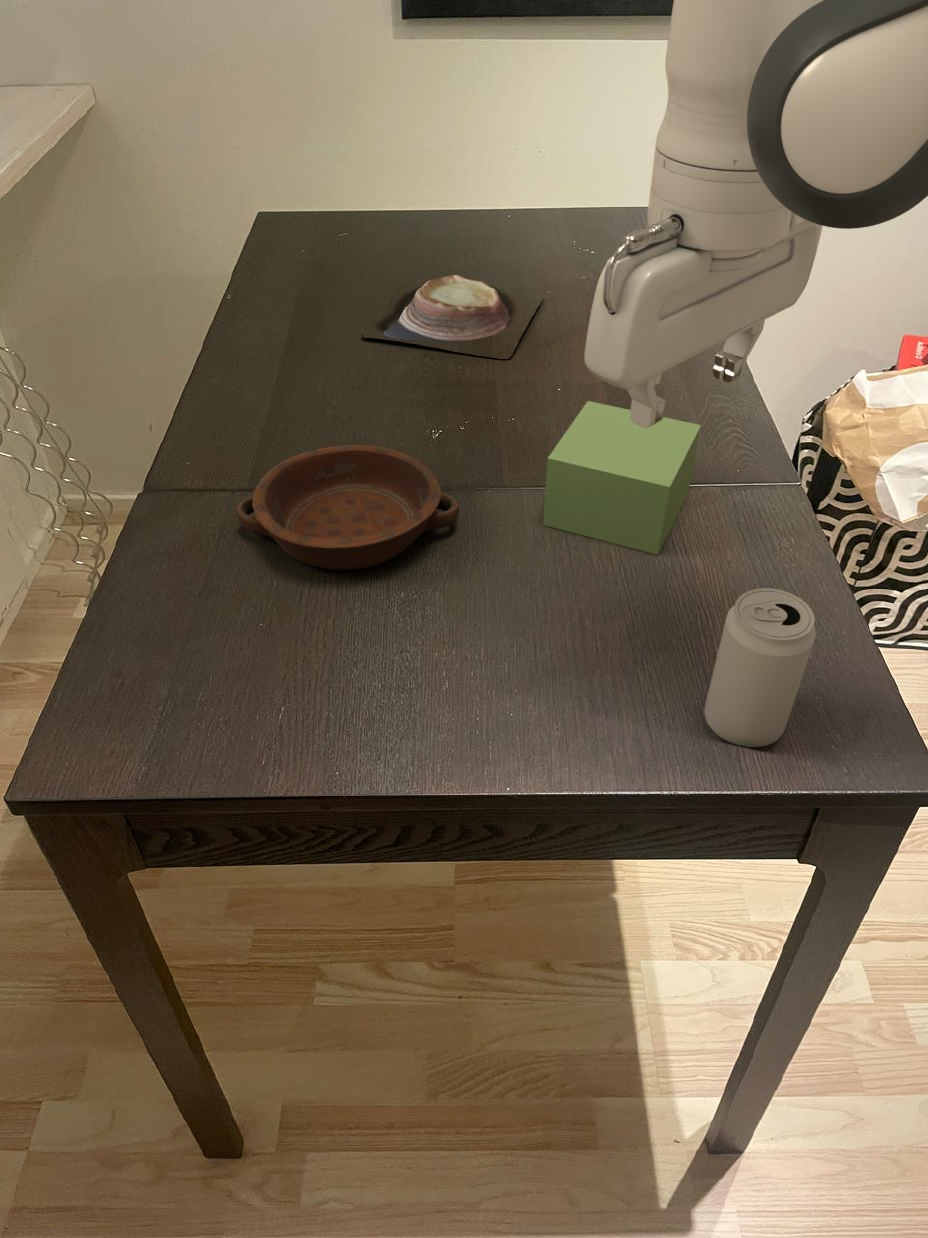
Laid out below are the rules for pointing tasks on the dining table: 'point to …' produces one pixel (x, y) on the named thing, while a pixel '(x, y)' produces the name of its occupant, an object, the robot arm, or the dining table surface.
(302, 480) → the dish
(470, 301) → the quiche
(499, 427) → the dining table surface
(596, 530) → the green block
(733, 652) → the beverage can
